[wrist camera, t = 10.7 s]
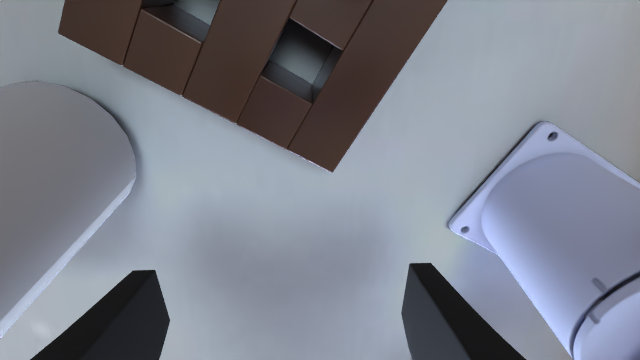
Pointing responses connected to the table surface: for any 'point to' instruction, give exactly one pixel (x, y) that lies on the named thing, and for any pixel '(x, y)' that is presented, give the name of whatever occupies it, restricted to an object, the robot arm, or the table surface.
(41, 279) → the can
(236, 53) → the pencil stand
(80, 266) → the table surface
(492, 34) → the table surface
